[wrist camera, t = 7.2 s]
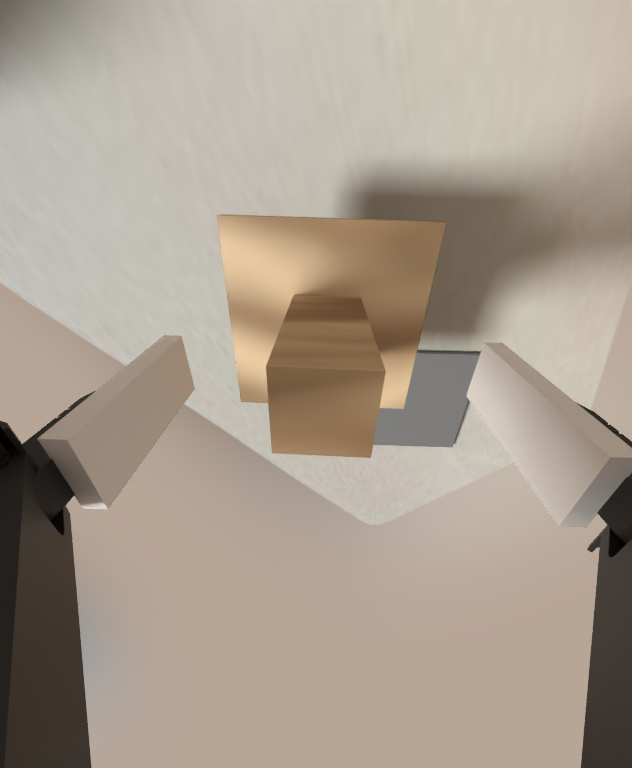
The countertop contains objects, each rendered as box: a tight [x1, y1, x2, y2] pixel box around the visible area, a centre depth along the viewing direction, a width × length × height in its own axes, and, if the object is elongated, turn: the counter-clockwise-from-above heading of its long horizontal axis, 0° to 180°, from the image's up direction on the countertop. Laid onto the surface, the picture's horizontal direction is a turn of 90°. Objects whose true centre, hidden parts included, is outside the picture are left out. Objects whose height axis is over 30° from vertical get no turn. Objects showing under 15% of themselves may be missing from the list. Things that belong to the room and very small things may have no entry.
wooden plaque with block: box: [217, 215, 446, 458], centre depth 15 cm, size 12×12×10 cm
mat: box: [373, 351, 480, 447], centre depth 32 cm, size 12×12×1 cm
